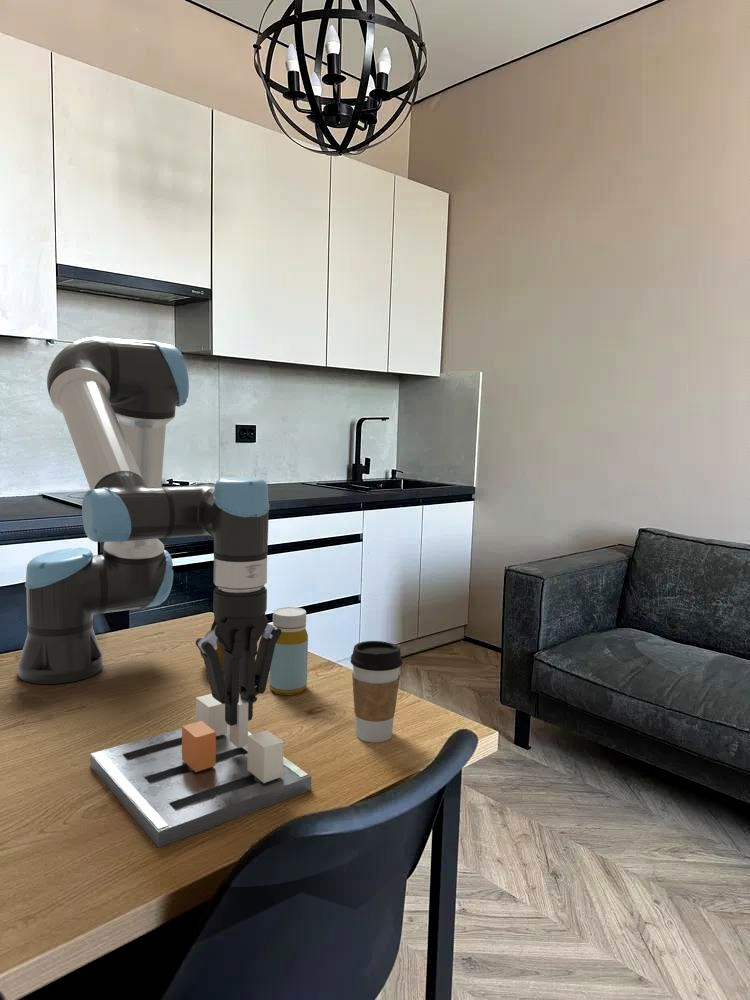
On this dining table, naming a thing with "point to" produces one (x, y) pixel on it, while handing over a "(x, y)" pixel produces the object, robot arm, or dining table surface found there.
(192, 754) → the block
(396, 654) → the coffee cup
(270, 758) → the block
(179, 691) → the dining table surface
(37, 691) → the dining table surface
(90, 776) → the dining table surface
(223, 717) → the block
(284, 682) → the bottle
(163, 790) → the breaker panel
